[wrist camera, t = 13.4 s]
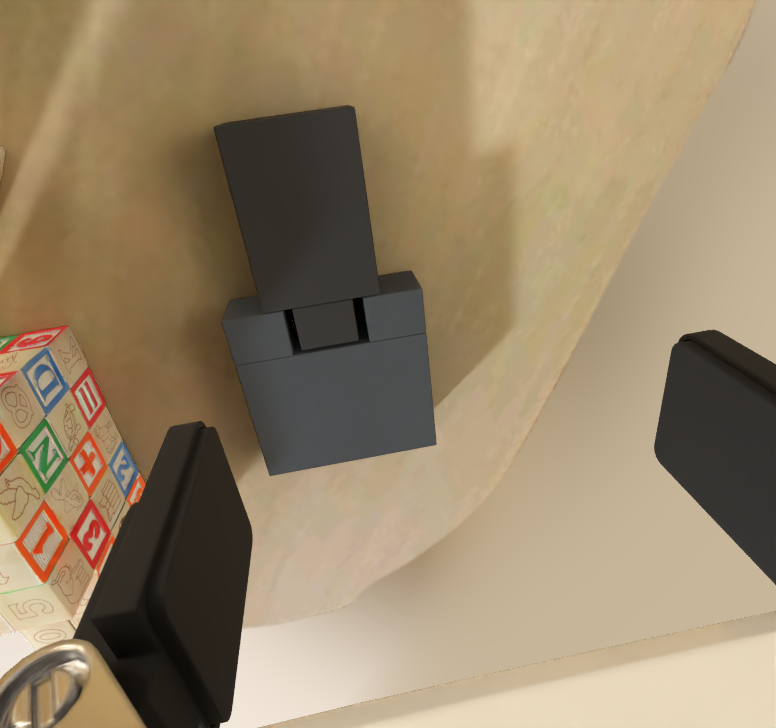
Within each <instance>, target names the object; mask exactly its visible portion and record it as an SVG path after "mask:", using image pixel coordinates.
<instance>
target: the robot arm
mask: <svg viewBox="0 0 776 728" xmlns="http://www.w3.org/2000/svg"><path fill="white" fill-rule="evenodd" d="M654 449H655V454H656V457H657V459H658V461H659V462H660V464H661V465H662V466H663V467H664V468H665V469H666V470H667V471H668V472H669V473H670V474H671V475H672V476H673V477H674V478H675V479H676V480H677V481H678V483H679V484H680V485H681V486H682V487H683V488H684V489H685V490H686V491H687V492H688V493H689V494H690V495H691V496H692V497H693V498H694V499H695V500H696V501H697V502H698V504H699V505H700V506H701V507H702V508H703V509H704V510H705V511H706V512H707V513H708V514H709V515H710V516H711V517H712V518H713V519H714V520H715V521H716V523H717V524H718V525H720V527H721V528H722V529H723V530H724V531H725V532H726V533H727V534H728V535H729V536H730V537H731V538H732V539H733V540H734V541H735V542H736V544H738V546H739V547H740V548H741V549H742V550H743V551H744V552H745V553H746V554H747V555H748V556H749V557H750V558H751V559H752V560H753V561H754V563H756V565H757V566H758V567H759V568H760V569H761V570H762V571H763V572H764V573H765V574H766V575H767V576H768V577H769V578H770V579H771V580H772V581H773V582H774V583H775V585H776V364H774V363H772V362H771V361H769V360H767V359H766V358H764V357H762V356H761V355H759V354H757V353H755V352H754V351H752V350H750V349H748V348H747V347H745V346H743V345H742V344H740V343H738V342H736V341H735V340H733V339H731V338H730V337H728V336H726V335H724V334H723V333H721V332H719V331H716V330H707V331H702V332H696V333H691V334H685V335H683V336H682V337H681V338H680V339H679V342H678V343H676V344H675V345H674V346H673V348H672V351H671V356H670V362H669V367H668V373H667V379H666V384H665V389H664V395H663V400H662V406H661V412H660V417H659V422H658V428H657V433H656V439H655V444H654ZM252 540H253V539H252V529H251V524H250V521H249V519H248V516H247V513H246V510H245V508H244V505H243V502H242V499H241V496H240V494H239V491H238V488H237V485H236V483H235V480H234V477H233V474H232V472H231V469H230V466H229V463H228V461H227V458H226V455H225V452H224V449H223V447H222V444H221V441H220V438H219V436H218V433H217V431H216V429H215V428H214V427H208V428H206V426H205V424H204V423H203V422H201V421H199V422H193V423H188V424H182V425H177V426H172V427H170V428H169V430H168V432H167V434H166V437H165V439H164V442H163V444H162V447H161V449H160V451H159V454H158V456H157V459H156V461H155V463H154V466H153V468H152V471H151V473H150V476H149V478H148V480H147V483H146V485H145V488H144V490H143V493H142V495H141V497H140V500H139V502H136V503H134V504H133V505H131V506H130V508H129V510H128V511H127V513H126V516H125V518H124V520H123V523H122V525H121V527H120V529H119V532H118V534H117V536H116V539H115V541H114V543H113V546H112V548H111V550H110V553H109V555H108V557H107V560H106V562H105V564H104V567H103V569H102V571H101V574H100V576H99V578H98V581H97V583H96V585H95V588H94V590H93V592H92V595H91V597H90V599H89V601H88V604H87V606H86V608H85V611H84V613H83V615H82V618H81V620H80V622H79V625H78V627H77V629H76V632H75V634H74V636H73V639H68V640H60V641H57V642H55V643H52V644H49V645H47V646H44V647H42V648H40V649H38V650H37V651H35V652H33V653H32V654H30V655H29V656H27V657H25V658H23V659H22V660H21V661H20V662H19V663H17V664H16V665H15V666H14V667H13V668H11V669H10V670H9V671H8V672H7V673H6V674H4V675H3V677H2V678H1V679H0V728H219V727H220V723H223V722H228V720H229V719H230V716H231V711H232V705H233V697H234V689H235V680H236V672H237V664H238V656H239V647H240V640H241V632H242V624H243V615H244V607H245V599H246V591H247V583H248V575H249V567H250V558H251V550H252ZM259 728H776V611H774V612H769V613H764V614H760V615H755V616H750V617H745V618H741V619H736V620H731V621H727V622H722V623H718V624H713V625H708V626H704V627H699V628H695V629H690V630H685V631H681V632H676V633H672V634H667V635H663V636H658V637H653V638H649V639H644V640H640V641H635V642H631V643H626V644H621V645H617V646H612V647H608V648H603V649H599V650H594V651H590V652H585V653H581V654H576V655H572V656H567V657H562V658H558V659H554V660H549V661H544V662H540V663H535V664H531V665H526V666H522V667H518V668H513V669H508V670H504V671H499V672H495V673H491V674H486V675H482V676H477V677H473V678H469V679H464V680H460V681H456V682H451V683H446V684H442V685H438V686H433V687H428V688H425V689H420V690H415V691H411V692H406V693H402V694H397V695H393V696H388V697H384V698H380V699H375V700H371V701H367V702H362V703H358V704H354V705H350V706H346V707H341V708H337V709H333V710H329V711H325V712H321V713H317V714H313V715H309V716H304V717H300V718H296V719H292V720H288V721H284V722H280V723H276V724H272V725H268V726H264V727H259Z"/></svg>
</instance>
